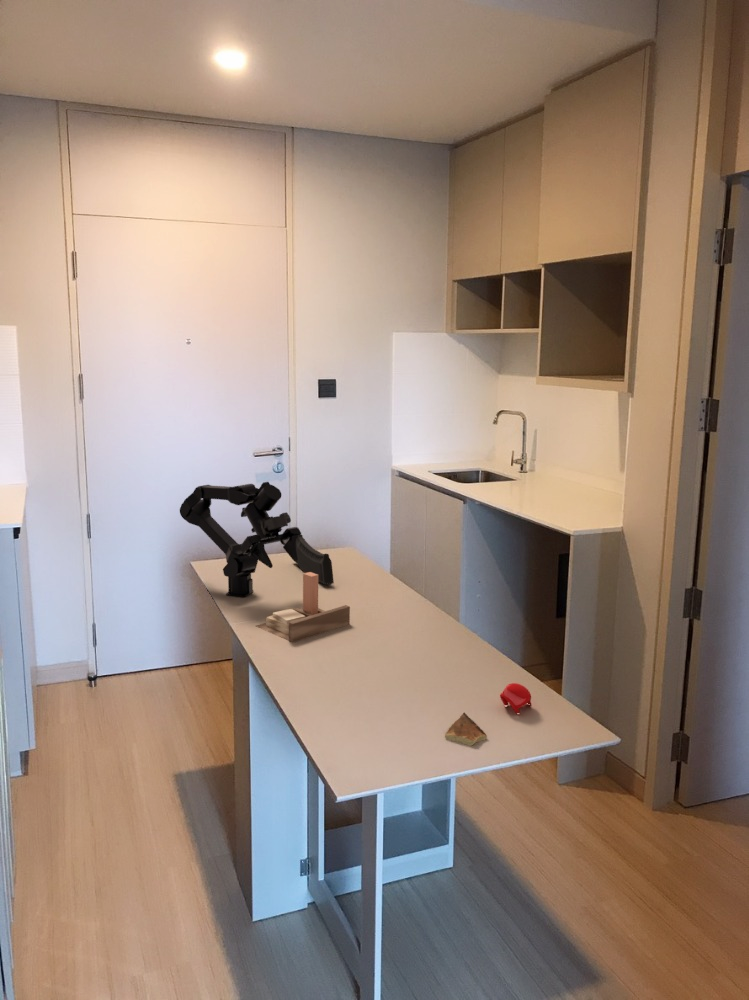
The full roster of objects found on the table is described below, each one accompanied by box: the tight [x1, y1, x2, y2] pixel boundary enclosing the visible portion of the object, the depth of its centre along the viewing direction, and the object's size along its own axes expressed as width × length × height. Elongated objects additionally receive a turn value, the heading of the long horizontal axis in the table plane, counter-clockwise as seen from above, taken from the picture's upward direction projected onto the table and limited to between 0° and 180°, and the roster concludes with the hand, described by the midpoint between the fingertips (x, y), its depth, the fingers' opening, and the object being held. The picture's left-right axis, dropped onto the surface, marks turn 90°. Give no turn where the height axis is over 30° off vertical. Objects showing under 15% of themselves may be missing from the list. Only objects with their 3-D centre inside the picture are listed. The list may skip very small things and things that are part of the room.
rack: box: [255, 604, 351, 643], centre depth 217 cm, size 16×20×6 cm
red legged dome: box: [499, 682, 532, 714], centre depth 172 cm, size 8×6×6 cm
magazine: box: [295, 533, 335, 585], centre depth 265 cm, size 17×3×30 cm
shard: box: [444, 712, 488, 747], centre depth 163 cm, size 11×8×2 cm
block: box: [302, 572, 319, 615], centre depth 221 cm, size 4×2×13 cm
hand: (284, 564), depth 229 cm, fingers open, 9 cm apart
